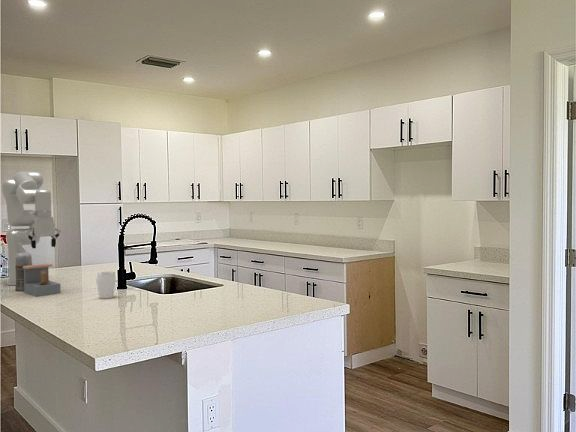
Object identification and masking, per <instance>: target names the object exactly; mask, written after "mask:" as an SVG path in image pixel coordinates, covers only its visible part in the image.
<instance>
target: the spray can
mask: <svg viewBox="0 0 576 432" xmlns="http://www.w3.org/2000/svg"><path fill="white" fill-rule="evenodd" d="M28 265H33V259H32V253H30V252H28V251H26V253H18V254H17V255H16V266H15V268H16V285H15V291H18V292H21V291H22V292H23V291H24V268H23V266H28Z"/></svg>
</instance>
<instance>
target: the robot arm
mask: <svg viewBox="0 0 576 432" xmlns="http://www.w3.org/2000/svg"><path fill="white" fill-rule="evenodd" d="M43 183H44V177H43V175H42V173H40V172H39V171H38V172H37V171H18V172H16V173H15V174H14V176H13V178H12V179H11V178H9V179H5V180H3V181H2V184H1V192H2V195H3V198H4V200H5V204H6V213H7V223H8V225H9V226H11V227H28V228H13V229H9V230H8V231H6V234H5V239H6V244H7V251H8V253H7V255H8V256H7V257H8V281H6V282H5V285H6V286H16V268H15V266H16V255H17V254H18V253H26V252H27V250H26V249H25V247H23V246H29V245H30V246H31V248H32V249H36V248H37V244H38V243H40V240H41V237H51V239H50V241H51V242H50V243H51V247H52V248H55V247H56V245H57V242H56V241H57V239H58V237H60V234H61V232H62V231H61V230H60V229H58V228H57V227H56V225H55V219H54V217H53V216H52V193H51V191H50V190H47V189H41V187H43V186H42V185H43ZM24 204H25V205H34V209H24Z"/></svg>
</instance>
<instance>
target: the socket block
mask: <svg viewBox="0 0 576 432" xmlns="http://www.w3.org/2000/svg"><path fill="white" fill-rule="evenodd" d="M50 267H53V264H52V263H41V264H39V263H38V264H32V265H28V266H23V268H24V292H23V293H24V294H28V295H31V296H33V297H36V298H37V297H44V295H45V296H51V295H50V294H52V295H58V294H57V293H59V294H61V283H59V282H55V281H51V280H50V279H49V278H50V277H49V276H50V275H49V272H48V280H49V285H41V271H42V270H48V271H49V268H50Z"/></svg>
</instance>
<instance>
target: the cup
mask: <svg viewBox="0 0 576 432" xmlns="http://www.w3.org/2000/svg"><path fill="white" fill-rule="evenodd" d="M116 278H117V277H116V272H114V271H103V272H98V273H96V279H95V280H96V285H97V292H98V297H99V298H100V299H111V298H113V297H115V296H114V295H115V287H116Z"/></svg>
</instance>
